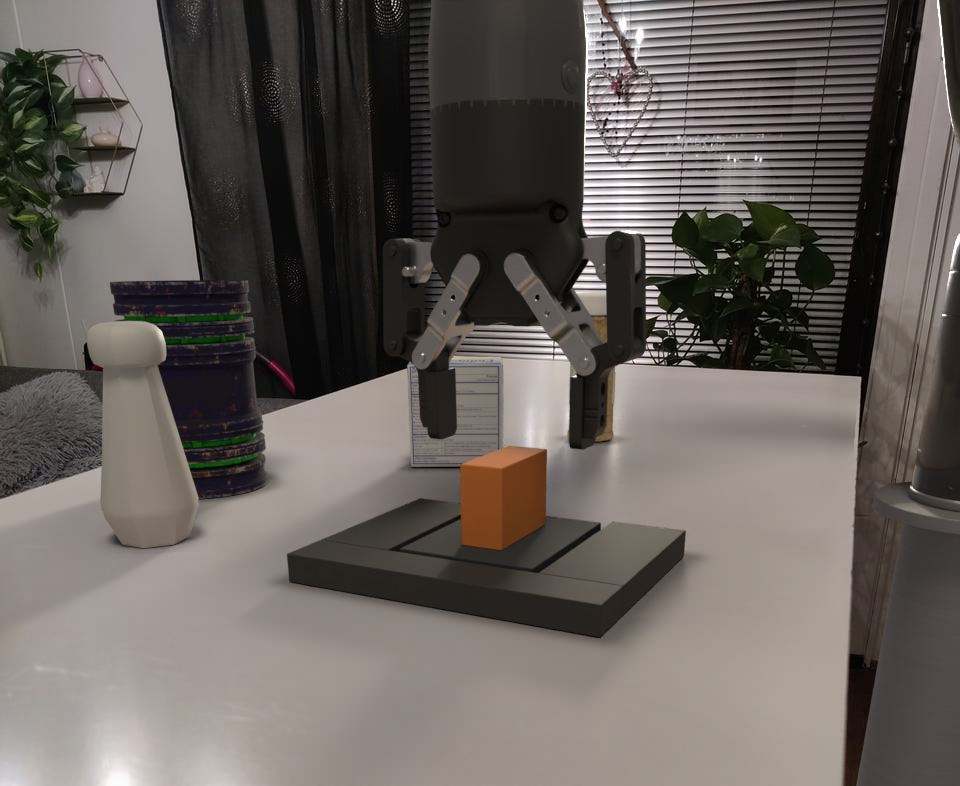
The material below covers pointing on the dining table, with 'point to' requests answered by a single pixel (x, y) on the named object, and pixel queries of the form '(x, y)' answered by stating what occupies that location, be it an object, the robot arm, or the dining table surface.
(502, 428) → the medicine box
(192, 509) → the salt shaker
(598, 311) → the sprinkles bottle
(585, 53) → the robot arm
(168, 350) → the storage jar
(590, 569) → the large u-shaped block
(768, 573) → the dining table surface
